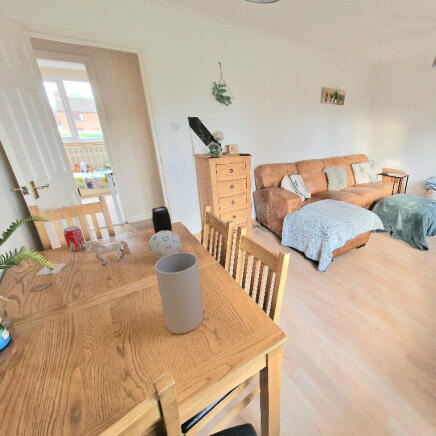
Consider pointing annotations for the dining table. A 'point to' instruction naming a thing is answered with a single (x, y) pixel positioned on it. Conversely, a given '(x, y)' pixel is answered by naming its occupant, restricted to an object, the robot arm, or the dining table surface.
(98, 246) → the unicorn figurine
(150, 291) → the dining table surface
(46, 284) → the cork coaster
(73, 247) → the soda can
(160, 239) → the puzzle ball
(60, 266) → the grey square slab
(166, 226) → the portable speaker
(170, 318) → the cylinder vase
